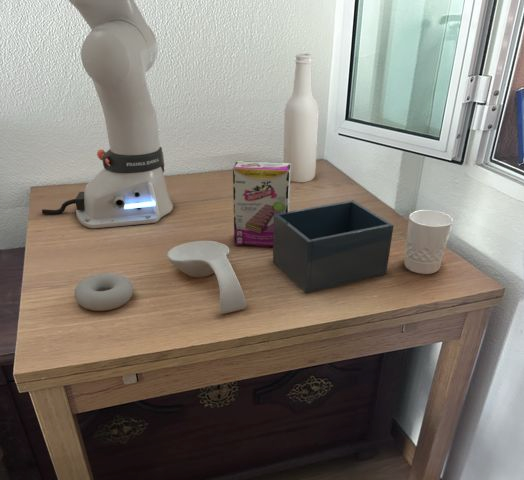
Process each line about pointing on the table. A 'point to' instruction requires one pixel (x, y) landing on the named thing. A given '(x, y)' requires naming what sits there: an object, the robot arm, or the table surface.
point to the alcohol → (301, 124)
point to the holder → (331, 245)
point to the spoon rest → (210, 269)
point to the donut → (103, 291)
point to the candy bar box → (259, 200)
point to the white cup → (426, 240)
